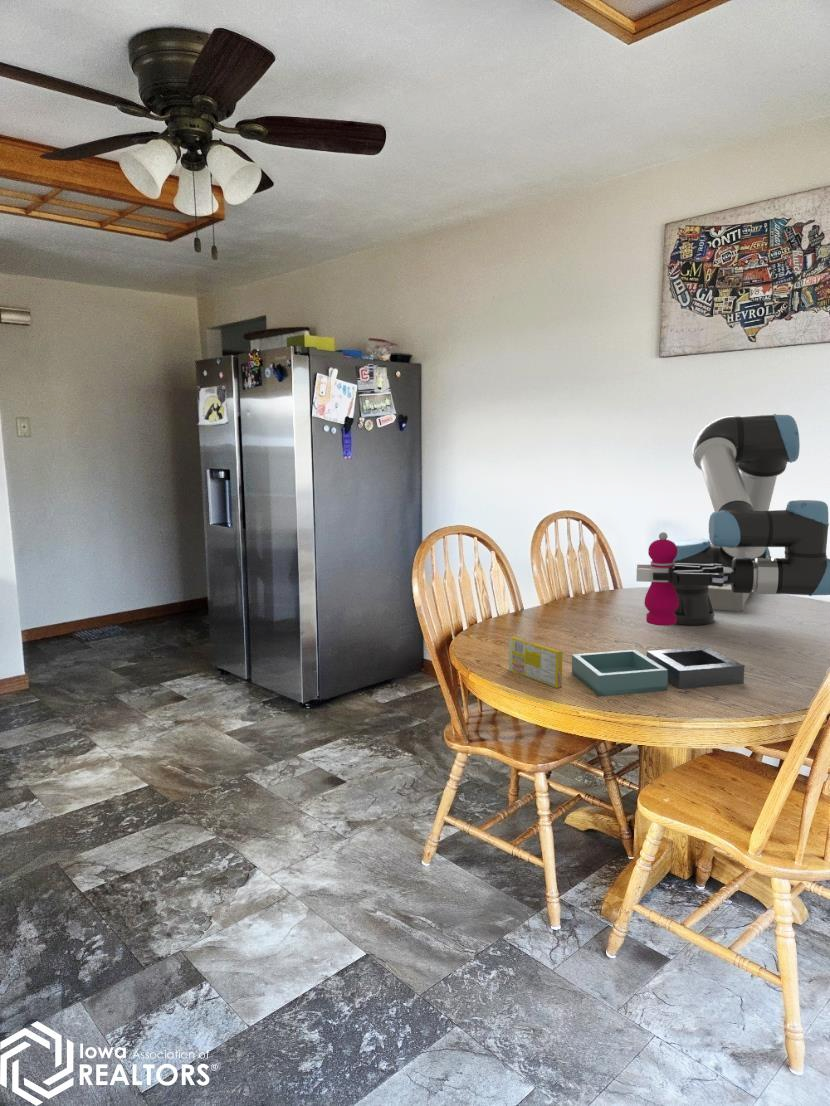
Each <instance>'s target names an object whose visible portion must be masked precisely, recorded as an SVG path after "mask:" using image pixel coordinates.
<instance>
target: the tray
mask: <svg viewBox="0 0 830 1106" xmlns="http://www.w3.org/2000/svg"><path fill="white" fill-rule="evenodd" d="M571 674H572V675H573V676H575V677H576V678H577V679H578V680H579V681H580V682H581V683H583V684H584V685H585V686H586V687H587V688H588V689H590V690H591V691H592V692H593V693H594V694H596V696H598V697H605V696H606V697H607V696H616V695H617V696H619V695H627V694H628V695H629V694H639V693H651V692H653V693H654V692H662V691H663V692H664V691H668V670H667V669H665V668H664V667H662V666H661V665H659V664H657V663H656V662H654V661H653V660H651V659H649V658H648V657H647V655H644V654H643V653H641V652H640V651H638V650H637V649H625V650H611V651H600V652H586V653H574V654H571Z"/></svg>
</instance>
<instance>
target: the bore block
mask: <svg viewBox="0 0 830 1106" xmlns="http://www.w3.org/2000/svg"><path fill="white" fill-rule="evenodd" d="M646 657H648V658H649V659H651V660H653V661H654V662H656V663H657V664H659V665H661V666H662V667H664V668H665V669H667V670H668V681H667V683H669V684H671V685H672V686H673V687H675V688H676V689H679V690H682V689H690V688H691V689H692V688H695V689H696V688H703V687H704V688H705V687H717V686H726V685H727V686H728V685H739V684H744V682H745V664H743V663H741V662H739V661H736V660H734V659H732V658H730V657H729V656H726V655H724V654H722V653H721V652H718V651H716V650H714V649H712V648H710V647H708V646H707V645H706V646H694V647H680V648H669V649H658V650H657V649H656V650H646Z"/></svg>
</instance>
